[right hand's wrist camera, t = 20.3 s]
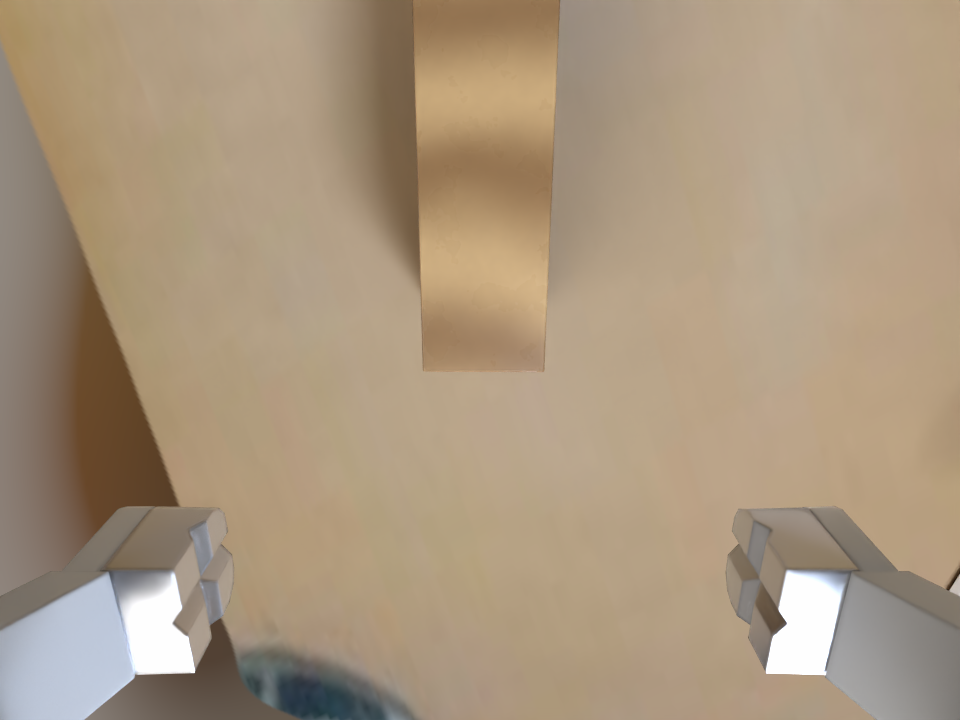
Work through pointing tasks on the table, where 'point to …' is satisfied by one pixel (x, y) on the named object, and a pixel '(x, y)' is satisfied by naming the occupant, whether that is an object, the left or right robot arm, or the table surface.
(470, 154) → the bar
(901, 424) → the table surface
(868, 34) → the table surface
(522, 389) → the table surface
